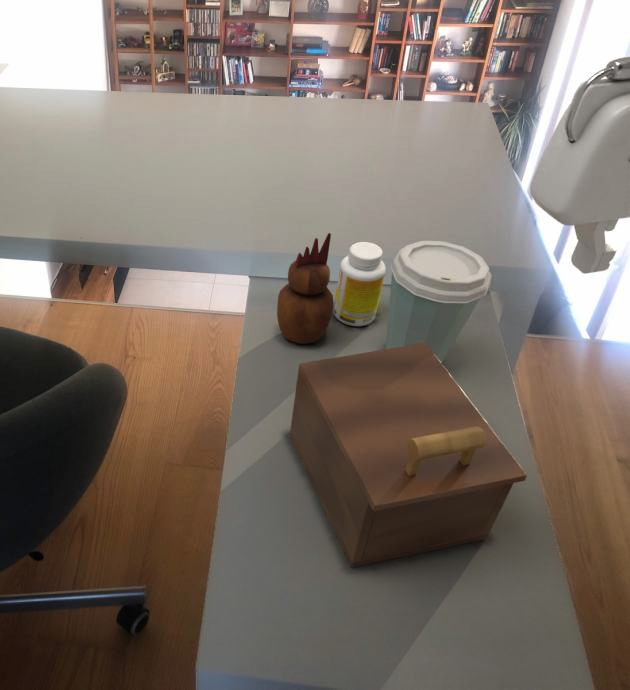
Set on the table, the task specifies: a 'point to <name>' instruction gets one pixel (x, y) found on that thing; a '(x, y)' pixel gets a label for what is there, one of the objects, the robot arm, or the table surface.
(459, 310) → the disposable coffee cup
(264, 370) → the table surface
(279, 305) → the wooden figurine
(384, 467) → the lid
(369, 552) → the chest
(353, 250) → the supplement bottle
